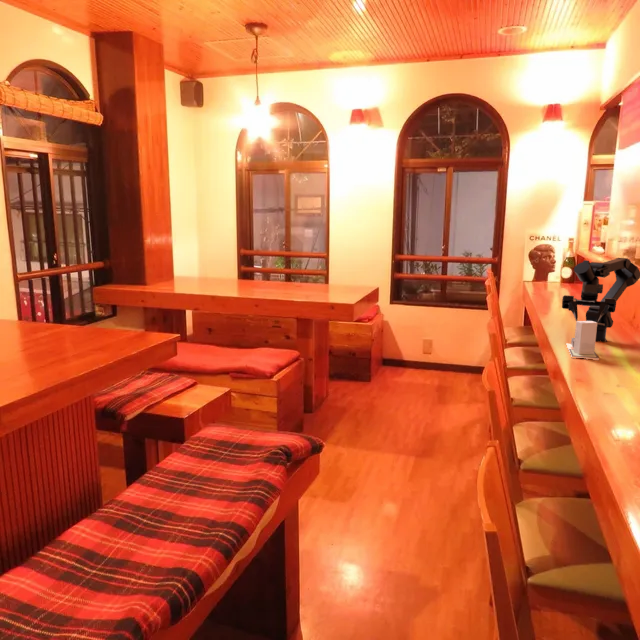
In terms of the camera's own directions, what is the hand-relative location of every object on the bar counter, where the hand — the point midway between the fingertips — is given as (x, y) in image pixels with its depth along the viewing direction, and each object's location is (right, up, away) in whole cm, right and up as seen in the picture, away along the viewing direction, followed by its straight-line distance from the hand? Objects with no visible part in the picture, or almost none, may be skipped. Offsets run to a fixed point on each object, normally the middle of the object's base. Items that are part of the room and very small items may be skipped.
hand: (586, 321), depth 208 cm
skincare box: (-3, -12, -5) cm, 13 cm away
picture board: (-2, -12, 0) cm, 12 cm away
